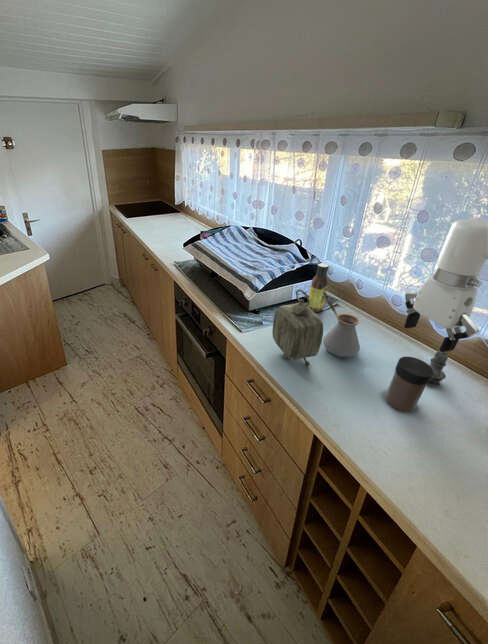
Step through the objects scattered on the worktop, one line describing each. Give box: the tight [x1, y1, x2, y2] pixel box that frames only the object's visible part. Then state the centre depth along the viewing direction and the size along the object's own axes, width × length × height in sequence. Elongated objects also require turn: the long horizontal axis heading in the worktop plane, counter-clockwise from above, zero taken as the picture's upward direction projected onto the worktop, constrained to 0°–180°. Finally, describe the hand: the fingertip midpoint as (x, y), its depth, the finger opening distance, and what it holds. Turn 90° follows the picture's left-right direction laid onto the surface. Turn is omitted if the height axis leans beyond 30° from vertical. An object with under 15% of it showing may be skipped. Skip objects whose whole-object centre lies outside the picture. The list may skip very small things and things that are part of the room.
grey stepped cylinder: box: [426, 350, 449, 388], centre depth 90 cm, size 6×6×12 cm
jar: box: [384, 370, 427, 413], centre depth 83 cm, size 7×7×12 cm
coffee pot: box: [320, 291, 361, 358], centre depth 106 cm, size 21×12×15 cm, turn 9°
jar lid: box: [394, 356, 433, 386], centre depth 80 cm, size 8×8×3 cm
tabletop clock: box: [271, 289, 324, 367], centre depth 97 cm, size 14×9×25 cm, turn 13°
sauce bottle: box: [306, 262, 330, 313], centre depth 125 cm, size 6×6×20 cm
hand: (426, 338), depth 76 cm, fingers open, 9 cm apart
